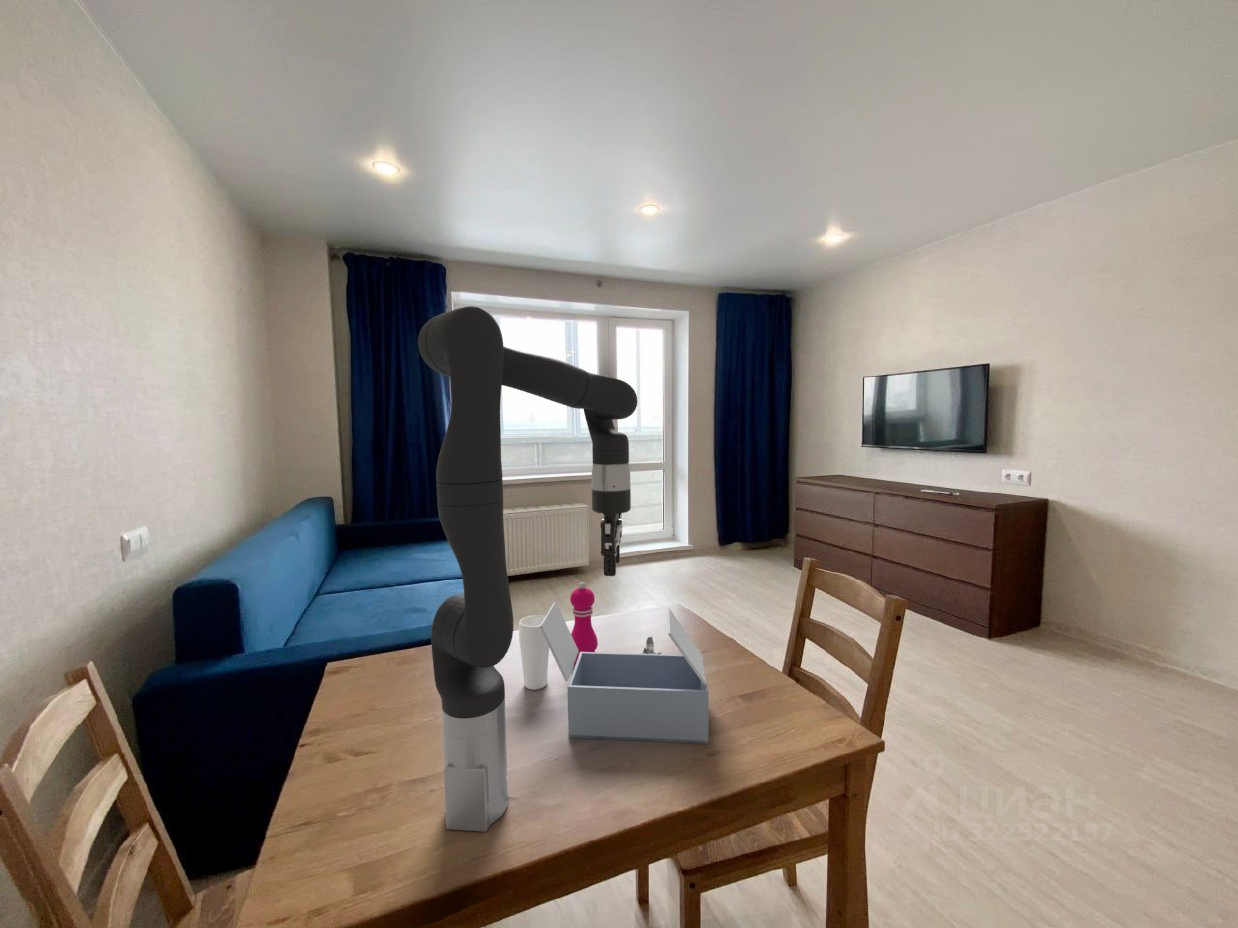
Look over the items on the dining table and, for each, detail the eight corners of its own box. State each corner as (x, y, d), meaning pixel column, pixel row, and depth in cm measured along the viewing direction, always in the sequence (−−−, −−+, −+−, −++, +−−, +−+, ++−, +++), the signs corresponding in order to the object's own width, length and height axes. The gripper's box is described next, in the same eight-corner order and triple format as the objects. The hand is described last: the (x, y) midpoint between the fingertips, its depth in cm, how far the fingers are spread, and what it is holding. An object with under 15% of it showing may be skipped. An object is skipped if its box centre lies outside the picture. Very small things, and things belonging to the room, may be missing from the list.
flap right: (704, 685, 89) (706, 683, 89) (667, 634, 89) (670, 632, 89) (699, 654, 101) (701, 653, 101) (667, 609, 101) (669, 607, 101)
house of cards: (684, 671, 116) (684, 640, 115) (652, 679, 112) (652, 647, 112) (666, 655, 124) (666, 626, 123) (635, 662, 120) (635, 632, 120)
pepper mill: (565, 657, 123) (563, 580, 121) (591, 651, 126) (590, 576, 124) (574, 670, 116) (573, 588, 115) (602, 663, 119) (601, 584, 118)
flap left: (541, 625, 91) (539, 626, 91) (567, 680, 91) (565, 681, 91) (555, 601, 103) (553, 602, 103) (578, 650, 103) (576, 651, 103)
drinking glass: (553, 677, 113) (552, 615, 112) (546, 693, 106) (545, 627, 105) (525, 676, 114) (523, 614, 113) (516, 692, 107) (514, 626, 106)
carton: (708, 744, 89) (708, 691, 88) (568, 737, 91) (567, 686, 90) (702, 700, 103) (702, 655, 102) (580, 696, 105) (580, 651, 104)
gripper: (628, 491, 86) (628, 580, 88) (632, 482, 100) (633, 559, 102) (586, 491, 87) (587, 580, 88) (596, 482, 101) (597, 558, 102)
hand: (612, 568), depth 95 cm, fingers open, 8 cm apart
